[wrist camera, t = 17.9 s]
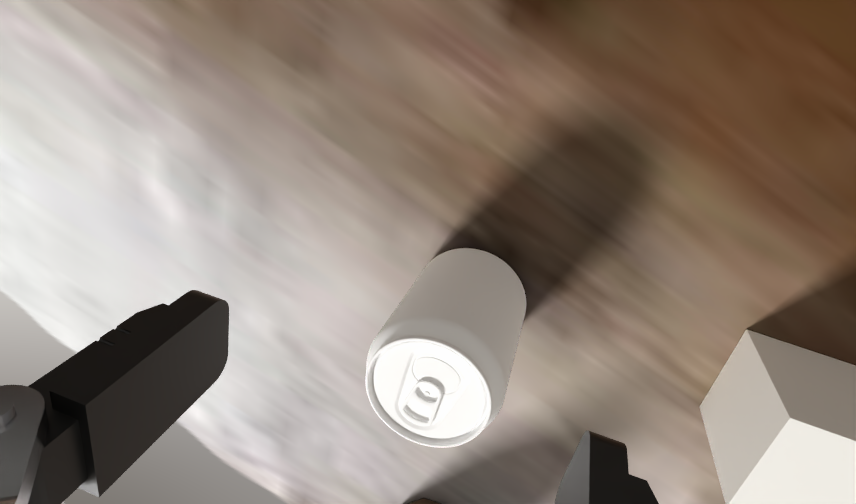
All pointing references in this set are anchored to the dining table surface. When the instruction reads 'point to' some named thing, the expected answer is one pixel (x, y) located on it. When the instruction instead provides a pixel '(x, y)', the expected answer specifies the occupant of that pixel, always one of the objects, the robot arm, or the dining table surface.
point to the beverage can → (448, 349)
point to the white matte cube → (783, 425)
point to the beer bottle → (424, 501)
